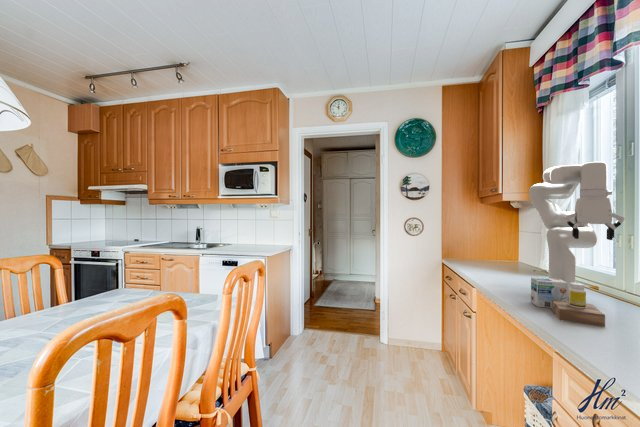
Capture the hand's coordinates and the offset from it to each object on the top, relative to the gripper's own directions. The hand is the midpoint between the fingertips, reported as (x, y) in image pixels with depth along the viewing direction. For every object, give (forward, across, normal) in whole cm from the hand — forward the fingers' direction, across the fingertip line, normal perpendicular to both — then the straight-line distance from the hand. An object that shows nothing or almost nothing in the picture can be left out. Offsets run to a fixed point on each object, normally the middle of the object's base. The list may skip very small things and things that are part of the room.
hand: (592, 239), depth 110 cm
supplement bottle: (+24, +7, +10) cm, 27 cm away
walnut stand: (+28, +7, +10) cm, 31 cm away
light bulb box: (+29, +13, -2) cm, 31 cm away
